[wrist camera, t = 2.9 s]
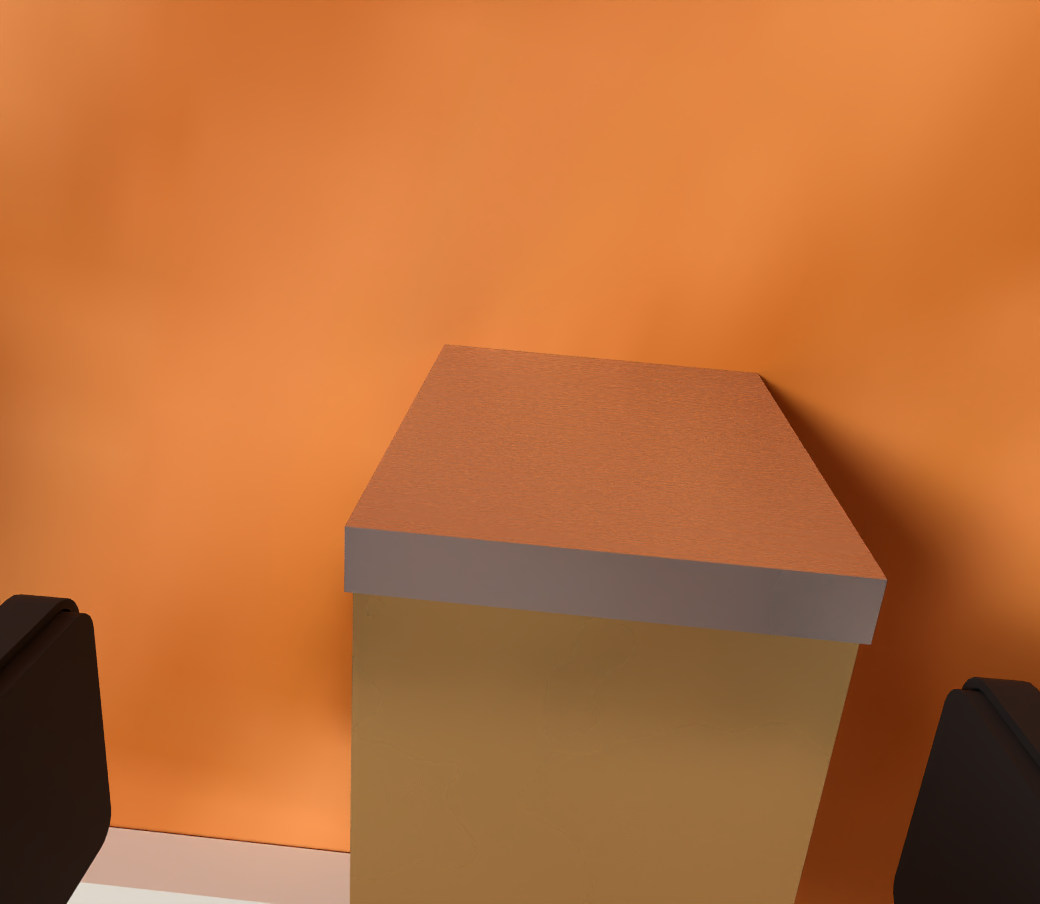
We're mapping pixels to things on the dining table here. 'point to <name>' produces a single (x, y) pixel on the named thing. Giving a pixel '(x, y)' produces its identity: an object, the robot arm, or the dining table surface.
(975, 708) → the robot arm
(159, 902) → the board
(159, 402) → the dining table surface
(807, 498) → the tan box
